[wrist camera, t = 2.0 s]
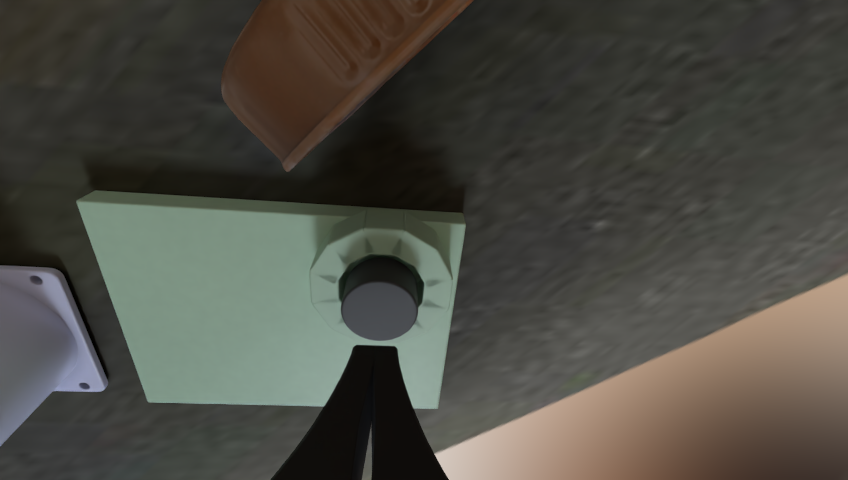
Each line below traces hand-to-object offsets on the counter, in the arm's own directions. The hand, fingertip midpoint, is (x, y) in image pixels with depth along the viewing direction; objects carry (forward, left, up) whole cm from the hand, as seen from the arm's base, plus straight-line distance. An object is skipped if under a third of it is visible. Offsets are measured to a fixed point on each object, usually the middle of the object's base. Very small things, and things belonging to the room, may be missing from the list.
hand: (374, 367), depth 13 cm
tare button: (0, 0, -5) cm, 5 cm away
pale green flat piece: (-5, -4, -7) cm, 9 cm away
